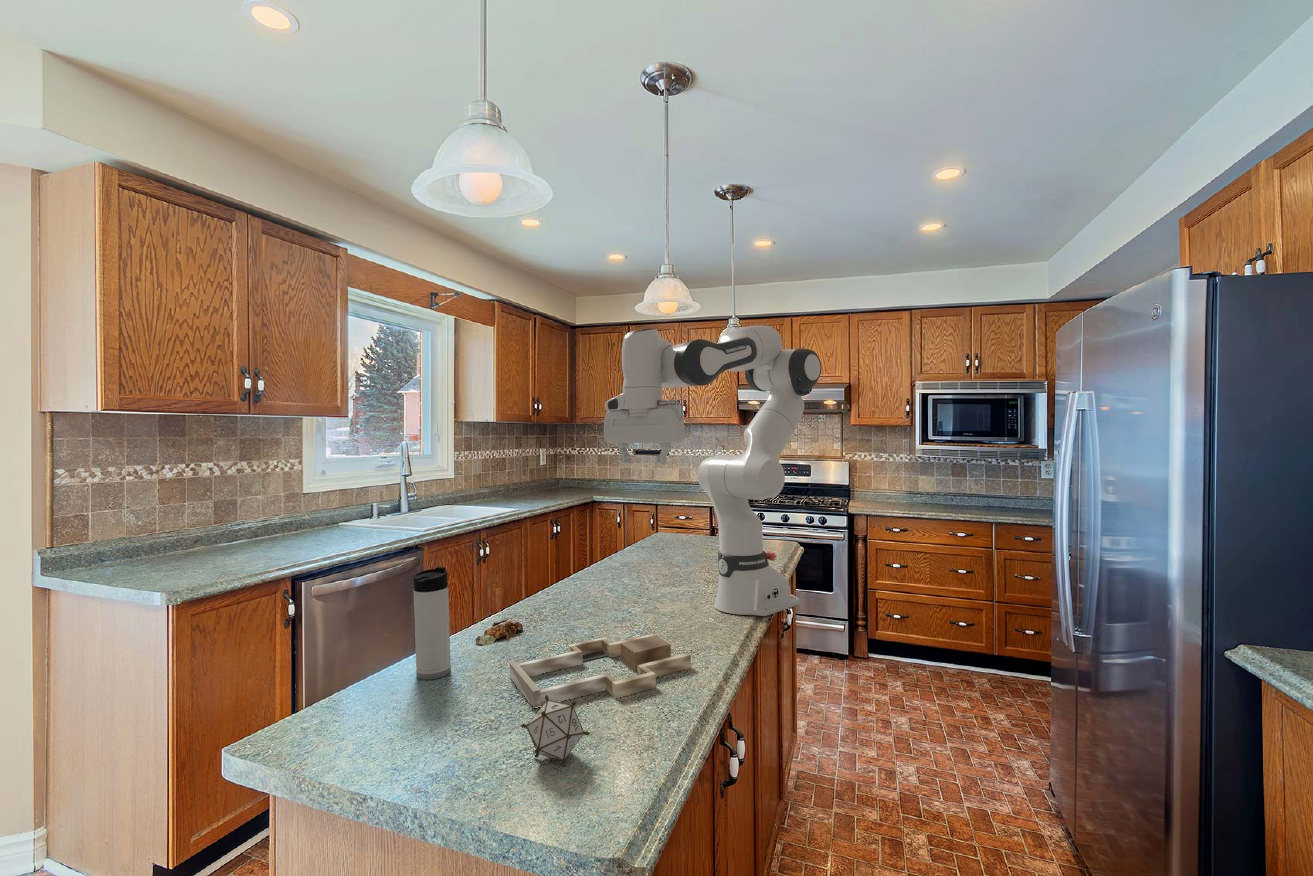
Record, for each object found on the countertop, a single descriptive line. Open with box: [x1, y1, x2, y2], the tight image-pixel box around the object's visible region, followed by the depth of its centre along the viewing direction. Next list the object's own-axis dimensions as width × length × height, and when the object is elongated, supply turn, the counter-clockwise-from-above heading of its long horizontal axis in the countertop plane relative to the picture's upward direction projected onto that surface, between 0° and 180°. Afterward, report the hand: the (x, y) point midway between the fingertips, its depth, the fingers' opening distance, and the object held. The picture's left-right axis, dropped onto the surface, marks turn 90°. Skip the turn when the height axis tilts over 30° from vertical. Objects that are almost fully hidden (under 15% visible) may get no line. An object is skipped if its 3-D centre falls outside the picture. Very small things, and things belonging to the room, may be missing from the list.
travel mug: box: [413, 566, 452, 681], centre depth 115 cm, size 6×7×20 cm
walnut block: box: [620, 634, 672, 673], centre depth 117 cm, size 8×6×4 cm
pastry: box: [474, 618, 524, 647], centre depth 135 cm, size 7×12×4 cm, turn 158°
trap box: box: [509, 633, 692, 709], centre depth 113 cm, size 31×22×3 cm
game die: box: [520, 695, 591, 765], centre depth 84 cm, size 9×8×10 cm
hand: (644, 463), depth 132 cm, fingers open, 8 cm apart
